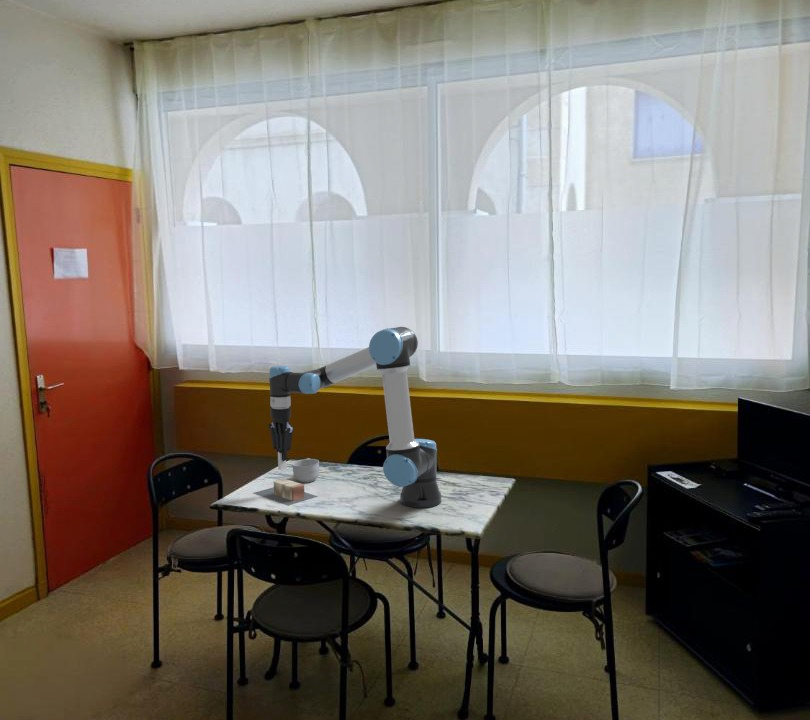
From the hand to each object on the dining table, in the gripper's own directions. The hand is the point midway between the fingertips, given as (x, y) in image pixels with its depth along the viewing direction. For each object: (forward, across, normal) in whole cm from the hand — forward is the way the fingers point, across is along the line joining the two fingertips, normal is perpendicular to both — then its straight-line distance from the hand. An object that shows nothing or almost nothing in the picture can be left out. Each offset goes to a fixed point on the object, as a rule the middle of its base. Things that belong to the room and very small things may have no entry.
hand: (282, 468), depth 257 cm
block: (+7, -2, 0) cm, 8 cm away
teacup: (+11, -9, +19) cm, 24 cm away
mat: (+10, +1, 0) cm, 10 cm away
